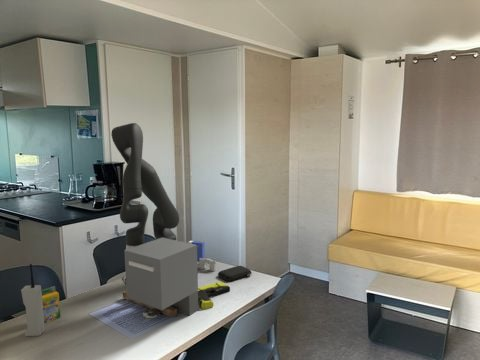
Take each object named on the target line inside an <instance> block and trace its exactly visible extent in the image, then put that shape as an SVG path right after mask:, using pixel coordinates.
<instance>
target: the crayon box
mask: <svg viewBox="0 0 480 360" xmlns="http://www.w3.org/2000/svg"><path fill="white" fill-rule="evenodd" d="M41 291H42V303H43V315H44V324H45V323H48V322H51V321H54V320H56V319H60V318H61V307H60V306H61V304H60V293H59V292H58V291H57V290H56V286H55V285H54V286H50V287H47V288H44V289H41ZM45 291H46V292H45Z"/></svg>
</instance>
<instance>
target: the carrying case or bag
mask: <svg viewBox="0 0 480 360" xmlns="http://www.w3.org/2000/svg"><path fill="white" fill-rule="evenodd" d="M251 275H252V271H251V270H250V269H249V268H247V267H245V266H242V265H237V266H233V267H229V268H225V269H222V270H219V271H218V273H217V276H218V277H219V278H220V279H222V280H224V281H225V282H233V281H236V280H240V279H242V278H245V277H249V276H251Z"/></svg>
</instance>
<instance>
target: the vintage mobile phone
mask: <svg viewBox="0 0 480 360" xmlns="http://www.w3.org/2000/svg"><path fill="white" fill-rule="evenodd" d="M29 271H30V285H24V286H23V288H22V289H20V292H21V296H22V303H23V305H24V306H25V316H26V330H25V333H24V335H25V337H38V336H39V337H40V336H41V335H42V334H43V333H44V332H45V330H46V329H45V328H46V327H45V323H44V315H43V303H42V293H43V292H42V291H41V290H42V286H41V284H36V285H35V280H34V279H35V278H34V275H33V274H34V273H33V271H34V270H33V264H32V263H30V264H29Z"/></svg>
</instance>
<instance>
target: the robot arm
mask: <svg viewBox="0 0 480 360" xmlns="http://www.w3.org/2000/svg"><path fill="white" fill-rule="evenodd" d="M110 134H111V138H112V142H113V144H114V146H115V148H116V149H117V151H118V152H119V154H120V156H121V157H122V158H123V160H124V162H125V163H126V166H125V168H124V171H123V173H122V191H123V192H122V196H123V197H122V204H121V207H120V210H119V211H120V212H119V219H120V221H121V222H122V223H123V224H133V223H135V224H136V223H137V225H136V226H133V227H131V228H130V227H129V228H128V229H127V230H126V231H125V242H126V243H125V244H126V245H125V246H126V247H125V250H127V249H130V248H133V247H136V246H139V245H141V244H144V243H146V242H145V237H146V236H145V230H146V225H147V221H148V217H149V208H148V207H147V205H146V204H144V203H140V204H130V202H131V201H133V200H137V199H140V198H141V197H142V195H143V194H144V196H145V197H146V198H147V199H148V200H149V201H150V202H151V203H152V204H153V205H154V206H155V207H156V208H155V209H154V212H153V214H152V228H153V237H154V238H155V239H154V240H156V239H159V238H162V237H163V238H167V239H172V240H176V241H177V235H176V233H174V231H173V230H172V229H175V228H176V227H177V226H178V225H179V223H180V214H179V212H178V210H177V208H176V207H175V205H174V204H173V202H172V200H171V199H170V197H169V195H168V194H167V191H166V189H165V188H164V185H163V184H162V181H161V179H160V176H159V174H158V173H157V170H156V169H155V168H154V167H153V166H152V164H150V163H149V162H147V161H146V160H144V159H143V149H144V147H143V146H144V144H143V143H144V136H143V130H142V128H141V126H140V125H139V124H138V123H136V122H133V123H132V122H131V123H128V124H122V125H120V126H116V127H113V128H112V130H111V133H110ZM121 281H122V283H124V285H125V286H126V275H125V276H122V278H121Z"/></svg>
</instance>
